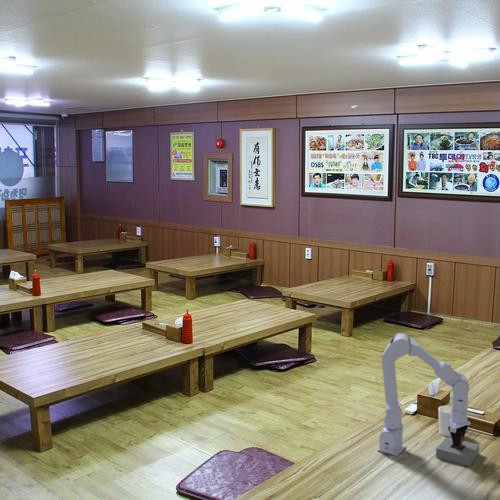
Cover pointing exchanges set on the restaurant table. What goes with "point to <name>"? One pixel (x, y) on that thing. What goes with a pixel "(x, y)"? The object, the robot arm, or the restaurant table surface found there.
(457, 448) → the pin
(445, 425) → the white cup
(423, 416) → the restaurant table surface
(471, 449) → the block
